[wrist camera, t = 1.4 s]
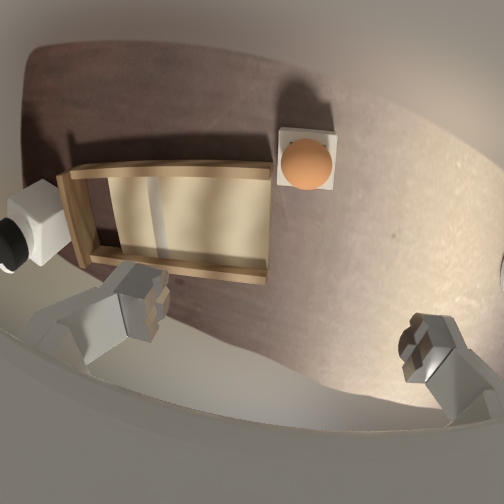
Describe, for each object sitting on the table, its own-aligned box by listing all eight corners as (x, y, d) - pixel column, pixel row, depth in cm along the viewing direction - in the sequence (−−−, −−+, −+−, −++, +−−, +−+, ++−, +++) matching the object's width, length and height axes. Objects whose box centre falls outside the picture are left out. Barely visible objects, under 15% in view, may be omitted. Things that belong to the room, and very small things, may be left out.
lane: (273, 162, 26) (267, 173, 23) (268, 271, 32) (263, 294, 29) (77, 164, 29) (55, 175, 26) (96, 251, 35) (80, 267, 32)
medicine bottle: (43, 177, 31) (-22, 216, 21) (77, 198, 32) (11, 245, 22) (40, 218, 35) (-15, 261, 25) (72, 240, 36) (17, 291, 25)
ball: (332, 138, 22) (337, 146, 19) (328, 183, 24) (331, 199, 21) (283, 133, 23) (279, 141, 19) (281, 179, 25) (277, 194, 21)
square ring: (334, 131, 23) (337, 135, 21) (330, 181, 26) (332, 189, 24) (281, 126, 24) (278, 130, 22) (279, 176, 27) (277, 184, 24)
